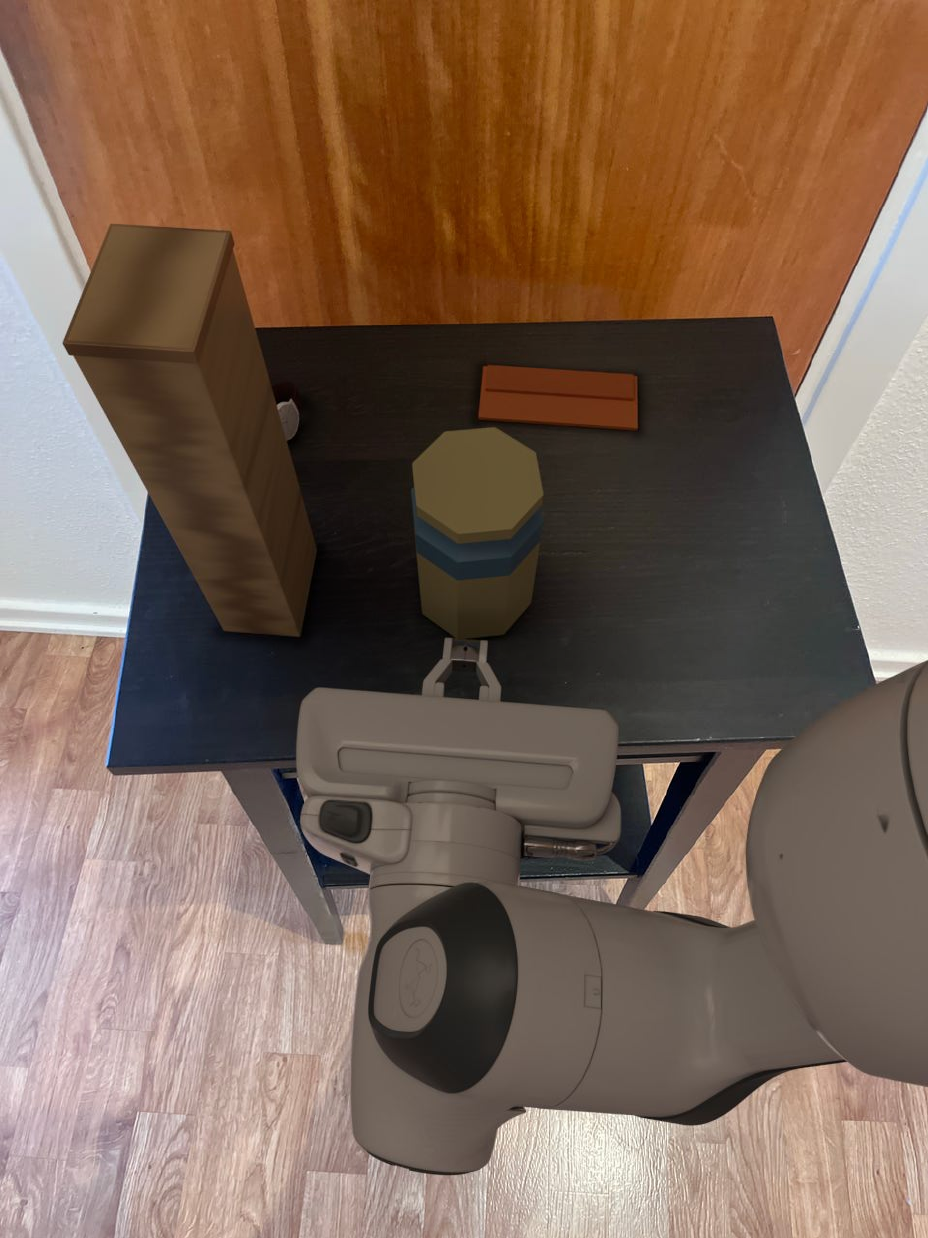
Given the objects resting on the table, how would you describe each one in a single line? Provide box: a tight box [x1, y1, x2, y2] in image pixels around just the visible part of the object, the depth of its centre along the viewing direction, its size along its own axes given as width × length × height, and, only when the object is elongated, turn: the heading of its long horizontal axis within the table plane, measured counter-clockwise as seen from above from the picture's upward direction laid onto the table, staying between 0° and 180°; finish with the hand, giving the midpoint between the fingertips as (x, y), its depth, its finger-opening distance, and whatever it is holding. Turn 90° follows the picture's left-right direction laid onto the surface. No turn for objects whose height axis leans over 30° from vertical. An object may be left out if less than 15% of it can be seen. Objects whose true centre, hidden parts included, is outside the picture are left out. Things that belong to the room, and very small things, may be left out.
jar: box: [410, 426, 544, 639], centre depth 61 cm, size 9×9×15 cm
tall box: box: [62, 223, 318, 638], centre depth 55 cm, size 6×8×30 cm
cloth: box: [477, 364, 639, 431], centre depth 77 cm, size 14×6×1 cm, turn 85°
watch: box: [271, 380, 303, 442], centre depth 74 cm, size 8×5×4 cm, turn 153°
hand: (466, 642), depth 58 cm, fingers closed
